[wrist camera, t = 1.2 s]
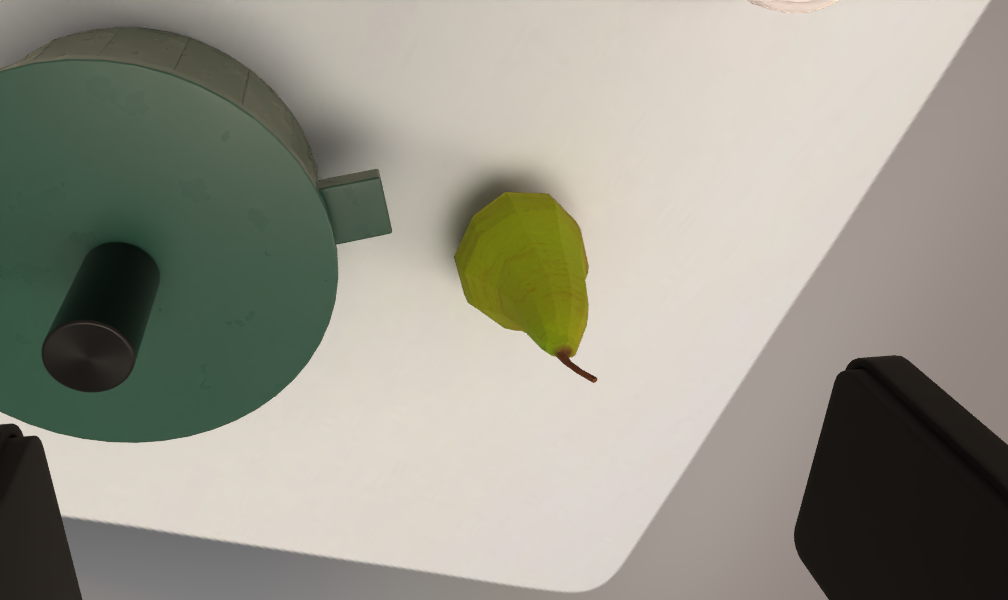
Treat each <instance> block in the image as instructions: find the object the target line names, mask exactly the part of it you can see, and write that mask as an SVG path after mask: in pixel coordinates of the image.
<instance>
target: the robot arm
mask: <svg viewBox="0 0 1008 600" xmlns="http://www.w3.org/2000/svg"><path fill="white" fill-rule="evenodd" d="M794 541H795V546H796V550H797V552H798V555H799V557H800V558H801V560H802V562H803V563H804V565H805V566H806V568H807V569H808V570H809V572H810V573H811V575H812V576H813V578H814V579H815V580H816V582H817V583H818V585H819V586H820V588H821V589H822V590H823V592H824V593H825V595H826V596H827V597H828V599H829V600H1008V445H1007V444H1006V443H1005V442H1004V441H1002V440H1001V439H1000V438H999V437H998V436H997V435H995V434H994V433H993V432H992V431H991V430H990V429H988V428H987V427H986V426H985V425H984V424H982V423H981V422H980V421H979V420H978V419H977V418H975V417H974V416H973V415H972V414H970V412H968V411H967V410H966V409H965V408H964V407H963V406H961V405H960V404H959V403H958V402H957V401H955V400H954V399H953V398H952V397H951V396H950V395H948V394H947V393H946V392H945V391H944V390H943V389H941V388H940V387H939V386H938V385H937V384H936V383H934V382H933V381H932V380H931V379H929V378H928V377H927V376H926V375H925V374H924V373H923V372H921V371H920V370H919V369H918V368H917V367H915V366H914V365H913V364H912V363H911V362H910V361H908V360H907V359H905V358H904V357H902V356H896V355H893V356H880V357H867V358H857V359H855V360H852V361H851V362H850V363H849V364H848V366H847V368H846V370H845V371H842V372H840V373H839V374H838V375H837V377H836V380H835V382H834V386H833V389H832V393H831V397H830V400H829V404H828V408H827V411H826V415H825V419H824V423H823V426H822V430H821V434H820V437H819V441H818V445H817V448H816V452H815V456H814V460H813V463H812V467H811V470H810V474H809V478H808V482H807V486H806V489H805V493H804V496H803V500H802V504H801V507H800V511H799V515H798V519H797V522H796V526H795V531H794ZM0 600H82V597H81V593H80V589H79V585H78V581H77V577H76V573H75V569H74V565H73V561H72V557H71V553H70V550H69V546H68V542H67V538H66V534H65V530H64V526H63V522H62V518H61V514H60V510H59V506H58V502H57V499H56V495H55V491H54V487H53V483H52V479H51V475H50V471H49V467H48V463H47V459H46V456H45V452H44V448H43V445H42V442H41V440H40V439H39V437H37V436H25V437H24V436H23V434H22V431H21V430H20V428H19V427H18V426H17V425H15V424H1V425H0Z"/></svg>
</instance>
